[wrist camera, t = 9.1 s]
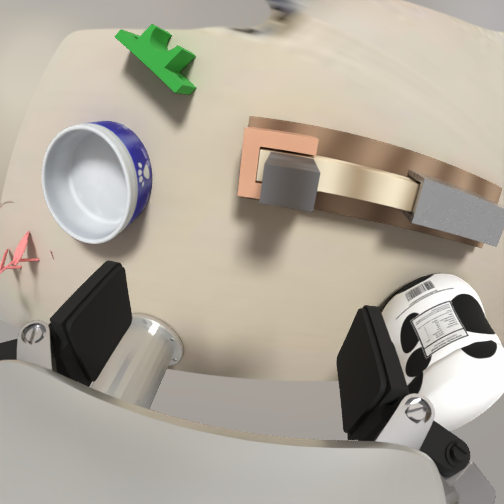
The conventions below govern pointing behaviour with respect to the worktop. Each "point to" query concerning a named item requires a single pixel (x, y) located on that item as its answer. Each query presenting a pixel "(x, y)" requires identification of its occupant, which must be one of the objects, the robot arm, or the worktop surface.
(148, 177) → the dog bowl
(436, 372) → the milk container
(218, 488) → the robot arm
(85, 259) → the worktop surface
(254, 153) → the socket
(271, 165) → the bar
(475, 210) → the grey concrete brick
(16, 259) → the figurine
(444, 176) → the board
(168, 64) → the pipe clamp
